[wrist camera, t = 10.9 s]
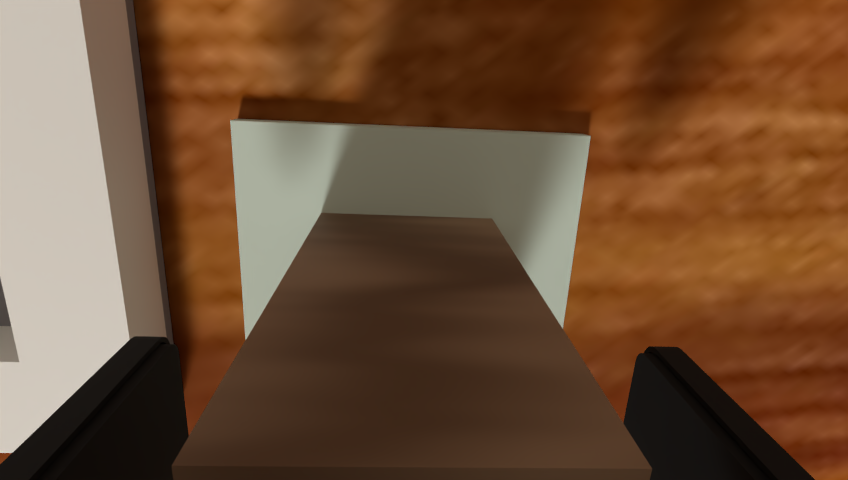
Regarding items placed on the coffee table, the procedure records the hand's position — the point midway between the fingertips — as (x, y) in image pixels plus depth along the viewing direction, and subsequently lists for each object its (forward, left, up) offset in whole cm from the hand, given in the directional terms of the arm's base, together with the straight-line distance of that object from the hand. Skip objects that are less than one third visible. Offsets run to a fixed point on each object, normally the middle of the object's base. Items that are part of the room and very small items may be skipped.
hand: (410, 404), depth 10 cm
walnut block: (0, 0, -6) cm, 6 cm away
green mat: (0, 0, -6) cm, 6 cm away
